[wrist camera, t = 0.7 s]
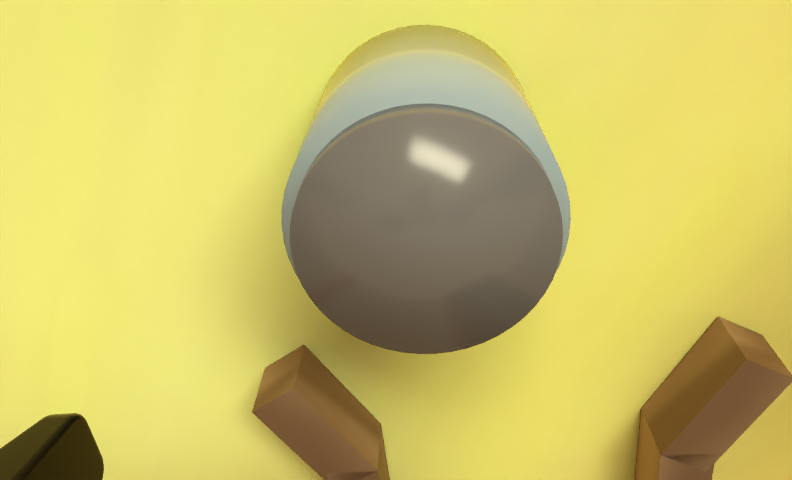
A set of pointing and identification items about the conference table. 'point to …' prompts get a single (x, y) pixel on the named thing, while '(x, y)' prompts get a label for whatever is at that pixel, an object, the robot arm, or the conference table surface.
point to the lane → (659, 423)
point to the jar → (425, 195)
